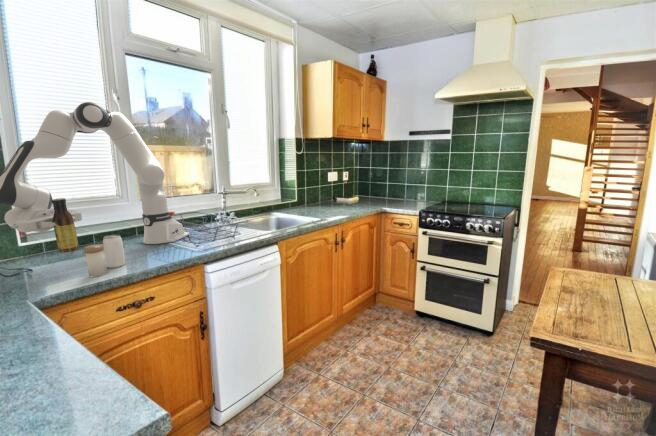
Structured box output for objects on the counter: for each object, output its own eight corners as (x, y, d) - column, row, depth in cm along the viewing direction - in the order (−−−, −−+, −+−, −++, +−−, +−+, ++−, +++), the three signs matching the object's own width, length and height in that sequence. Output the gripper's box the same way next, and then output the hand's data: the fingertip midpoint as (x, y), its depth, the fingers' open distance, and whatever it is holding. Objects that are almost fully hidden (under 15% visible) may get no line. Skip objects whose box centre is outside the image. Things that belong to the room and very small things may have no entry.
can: (129, 262, 139) (125, 234, 136) (118, 268, 132) (113, 238, 130) (114, 262, 139) (109, 234, 137) (102, 268, 133) (97, 238, 130)
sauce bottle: (62, 249, 131) (51, 198, 127) (81, 247, 133) (71, 196, 129) (56, 254, 125) (44, 200, 121) (76, 252, 127) (65, 199, 123)
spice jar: (100, 270, 131) (95, 243, 128) (111, 272, 129) (107, 244, 126) (84, 276, 125) (79, 248, 123) (96, 277, 123) (91, 249, 121)
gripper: (5, 218, 121) (30, 220, 116) (65, 207, 139) (89, 208, 135) (9, 235, 122) (34, 237, 117) (69, 222, 141) (92, 224, 136)
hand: (64, 222), depth 126 cm, fingers closed on sauce bottle, 6 cm apart
